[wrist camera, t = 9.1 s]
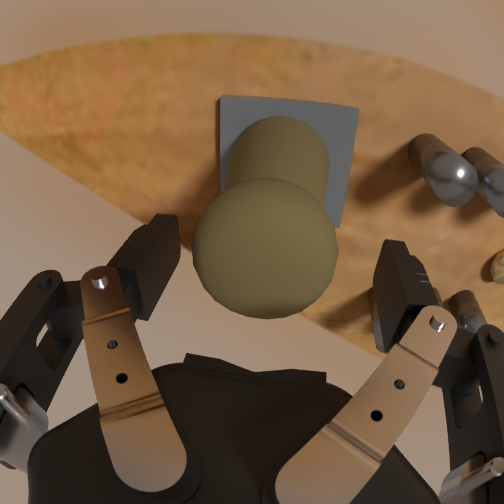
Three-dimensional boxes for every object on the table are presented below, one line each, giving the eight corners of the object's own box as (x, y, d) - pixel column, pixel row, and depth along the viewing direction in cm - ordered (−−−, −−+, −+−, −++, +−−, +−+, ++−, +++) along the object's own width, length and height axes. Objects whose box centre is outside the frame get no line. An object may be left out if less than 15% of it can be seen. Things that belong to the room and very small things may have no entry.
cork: (275, 223, 22) (252, 360, 13) (211, 158, 19) (134, 266, 11) (349, 172, 19) (388, 296, 10) (285, 95, 17) (268, 150, 8)
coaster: (357, 107, 17) (359, 109, 16) (338, 223, 22) (339, 227, 21) (222, 95, 18) (220, 96, 17) (222, 210, 22) (220, 215, 22)
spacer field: (529, 165, 16) (568, 196, 12) (466, 312, 24) (483, 353, 20) (412, 129, 17) (442, 155, 13) (364, 305, 25) (371, 352, 21)
